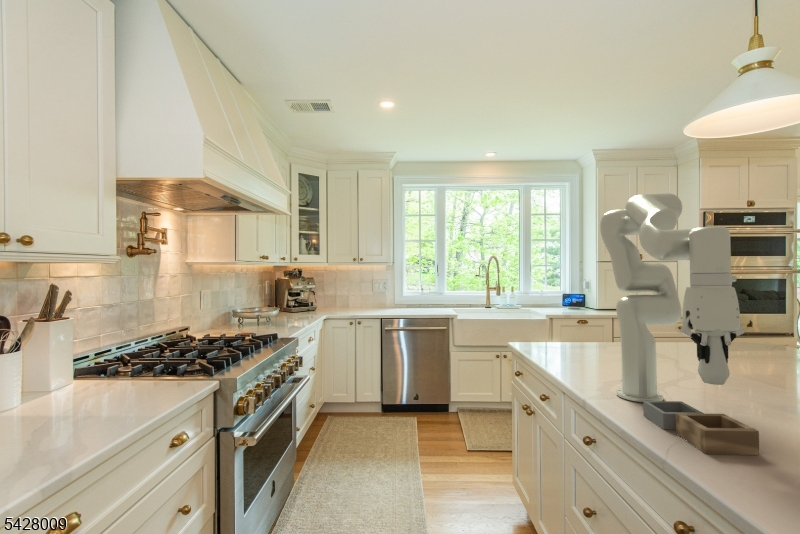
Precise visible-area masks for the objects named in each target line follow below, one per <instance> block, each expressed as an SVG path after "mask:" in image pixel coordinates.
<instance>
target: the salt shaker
mask: <svg viewBox="0 0 800 534" xmlns="http://www.w3.org/2000/svg"><path fill="white" fill-rule="evenodd" d="M723 335H724V331H722V330H720V329H716V330H715V331H710V332H708V335H707V346H709V347H710V357H709V359H710V361H709V363H708V364H706V363H705V360H704V359H700V361H699V360H698V368H697V374H699V376H700V378H701V380H702V382H704V383H705V384H710V385H714V386H717V385H718V386H723V385H725V384H726V382H727V380H728V379H729V378H730V369H729V364H728V363H727V362H726V358H725V354H724V351H723V345H722V340H721V336H723Z"/></svg>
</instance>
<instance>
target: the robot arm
mask: <svg viewBox="0 0 800 534" xmlns="http://www.w3.org/2000/svg"><path fill="white" fill-rule="evenodd" d="M682 213H683V203H682V200H681V199H680V197H678V195H676V194H673V193H669V192H668V193H667V192H665V193H641V194H637V195H634V196H632V197H631V198H629V199H628V200H627V202H626V203H625V207H624V208H622V209H621V208H619V209H613V210H609V211H607V212H605V213H604V214H603V215H602V217H601V218H600V219H601V220H600V224H599V228H600V235H601V239H602V241H603V244H604V246H605V248H606V249H607V251H608V253H609V256H610V260H611V261H610V263H611V267H612V271H613V275H614V276H613V277H614V280H615V284H616V287H617V288H618V290H619V291H621V292H624V293H635V294H628V295H625V296H622V297H620V298H619V299H618V301H617V302H616V306H615V308H616V309H615V310H616V315H617V319H618V320H617V321H618V324H619V325H618V326H619V333H620V334H619V337H620V361H621V362H620V363H621V365H620V366H621V381H620V382H621V387H620V388H618V389H617V390H616V396H618V397H620V399H624V400H627V401H631V402H638V403H643V401H664V395H663V394H662V393H660V392H658V368H657V367H658V366H657V343H656V338H655V336H654V335H653V333H652V332H651V331H650V330H649V329H648V327H651V326H674V325H676V324H678V323H679V322H680V320H681V321H682V324H681V328H680V329H679V333H681V334H682V335H684V336H685V337H688V338H689V339H691V340H692V342H693V343H694V344H696V358H697V361H698V362H699V361H700V359H704V360H705V363H706V364H708V363H709V361H710V359H709V357H710V347H709V346H707V335H708V332H710V331H715V330H716V329H720V330H722V331H724V335H723V336H721V340H722V345H723V351H724V354H725V358H726V362H727V364H728V361H729V360H728V359H729V347H730V346H731V345H732V342H733V341H734V340H735V339H737V337H740V336H741V335H743V334H745V330H744V327H743V325H742V324H741V312H740V303H739V298H738V295H737V290H736V288H735V287H734V286H732V285H733V283H735V282H737V278H738V277H737V276H736V275H732V274H733V273H732V251H731V250H732V249H731V248H732V247H731V232H730V229H729V228H728V227H727V226H719V225H718V226H717V225H715V226H701V227H696V228H695V227H694V228H692V229H691V228H690V229H689V228H686V229H683V228H682V229H675V227H676V225H677V223H678V219H679V218H680V217H681V214H682ZM634 235H635V236H637V235H638V238H639V243H640V246H641V248H642V249H643V250H644V251H645V252H646V253H647V254H648V255H649V256H651V257H652V258H653V259H655V260H659V261H689V284H690V286H689V287H686V288H685V292H684V295H683V302H682V306H681V301H680V297H679V294H678V291H677V287H676V283H675V279H674V276H673V274H672V271H671V269H670V268H669V267H668V266H667V265H666V264H665V263H660V262H645V261H644V262H643V260H642V258H641V254H640V250H639V248H638V247H637V246H636V245H635V244H634V242H632V240H630V239H629V238H628V237H626V236H634ZM636 293H652V294H636ZM681 318H682V319H681ZM692 330H694V331H692Z"/></svg>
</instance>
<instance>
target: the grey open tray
mask: <svg viewBox="0 0 800 534" xmlns="http://www.w3.org/2000/svg"><path fill="white" fill-rule="evenodd" d="M642 404H643V417H644V416H645V419H647V418H648V419H647V420H649V421H650V420H651V421H650V422H652V423H653V422H654V423H655V426H657V425H658V426H657V427H659V428H660V427H661V428H660V429H662V430H663V429H676V413H697V414H705V413H704V412H702V411H700V410H698V409H697V408H695V407H693V406H691V405H689V404H687V403H685V402H683V401H679V400H677V401H675V400H674V401H671V400H669V401H667V400H666V401H664V400H663V401H643V402H642ZM654 423H653V424H654Z"/></svg>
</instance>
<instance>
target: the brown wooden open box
mask: <svg viewBox="0 0 800 534" xmlns="http://www.w3.org/2000/svg"><path fill="white" fill-rule="evenodd" d="M675 434H676V435H677V434H678V435H679V436H678V435H677V436H678V437H680V436H681V437H682V438H681V437H680V438H681V439H683V438H684V439H685V440H687V441H688V442H689V444H690V443H691V444H692V446H693V445H694V446H695V447H694V446H693V447H694V448H696V447H697V448H698V449H697V448H696V449H697V450H699V451H700V450H701V451H700V452H702V453H703V454H705V455H731V454H733V456H735V455H737V456H739V455H741V456H742V455H743V456H744V455H746V456H747V455H749V456H760V455H761V454H760V431H759V430H757V429H755V428H754V427H751V426H749V425H747V424H745V423H743V422H741V421H739V420H737V419H735V418H733V417H731V416H729V415H727V414H725V413H704V414H697V413H676V430H675ZM684 439H683V440H684ZM685 440H684V441H685ZM687 441H686V442H687ZM688 442H687V443H688ZM691 444H690V445H691Z"/></svg>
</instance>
